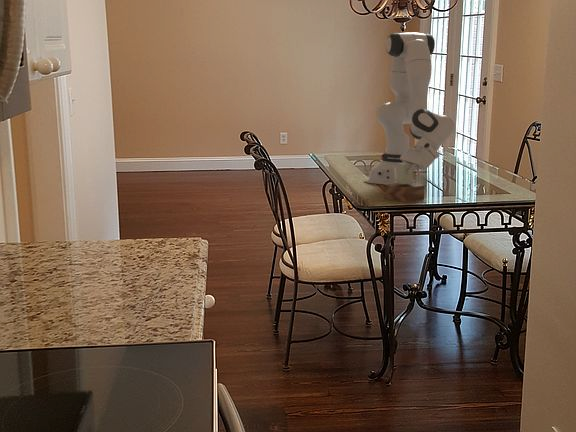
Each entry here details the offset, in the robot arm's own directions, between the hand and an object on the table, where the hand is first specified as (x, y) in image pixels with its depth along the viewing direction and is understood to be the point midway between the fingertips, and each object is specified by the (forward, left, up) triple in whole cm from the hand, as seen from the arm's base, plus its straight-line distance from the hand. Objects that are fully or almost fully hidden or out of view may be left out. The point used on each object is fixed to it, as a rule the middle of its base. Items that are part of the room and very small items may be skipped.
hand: (404, 172), depth 301 cm
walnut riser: (0, 0, -12) cm, 12 cm away
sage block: (0, 0, -4) cm, 4 cm away
